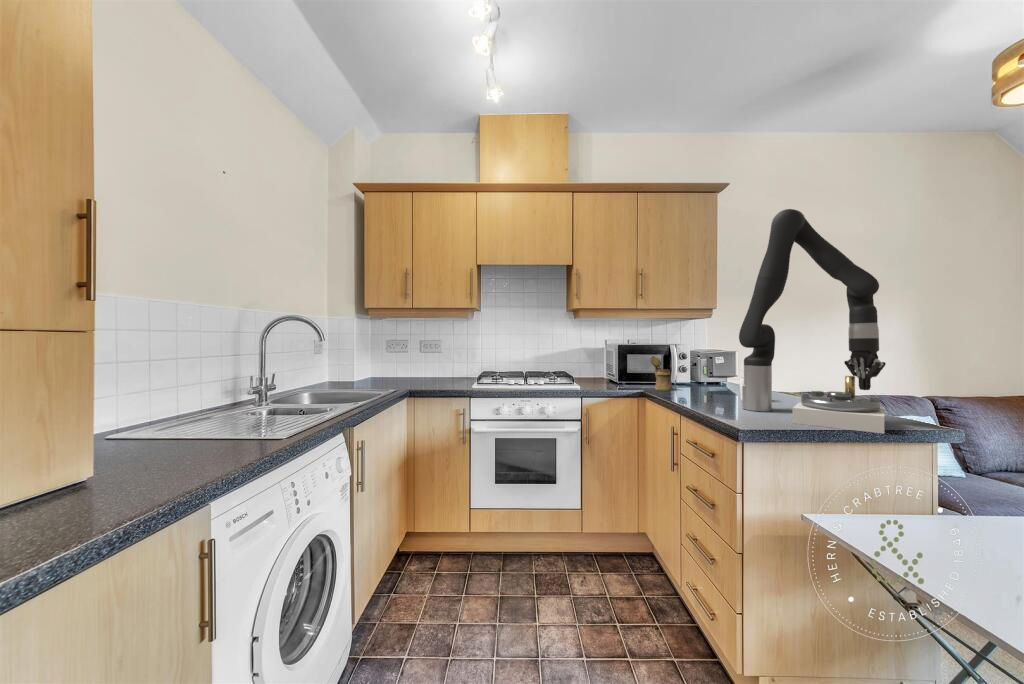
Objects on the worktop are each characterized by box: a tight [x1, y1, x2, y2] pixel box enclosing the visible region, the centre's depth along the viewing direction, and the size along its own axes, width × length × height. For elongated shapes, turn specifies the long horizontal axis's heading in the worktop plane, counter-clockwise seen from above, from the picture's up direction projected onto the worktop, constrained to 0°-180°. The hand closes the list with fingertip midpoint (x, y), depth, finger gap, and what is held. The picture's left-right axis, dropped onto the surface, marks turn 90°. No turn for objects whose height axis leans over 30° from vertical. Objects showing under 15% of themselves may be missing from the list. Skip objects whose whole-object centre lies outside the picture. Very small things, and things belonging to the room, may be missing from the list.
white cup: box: [738, 376, 744, 401], centre depth 178 cm, size 8×8×10 cm
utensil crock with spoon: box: [650, 355, 674, 392], centre depth 217 cm, size 9×14×18 cm, turn 19°
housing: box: [792, 401, 885, 434], centre depth 131 cm, size 22×22×5 cm
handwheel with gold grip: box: [800, 375, 881, 412], centre depth 131 cm, size 20×20×10 cm
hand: (864, 389), depth 131 cm, fingers closed
